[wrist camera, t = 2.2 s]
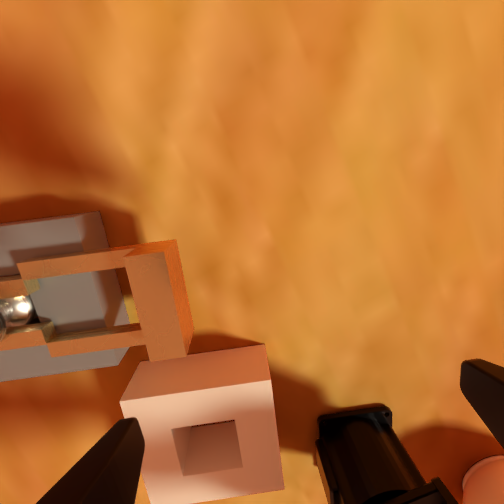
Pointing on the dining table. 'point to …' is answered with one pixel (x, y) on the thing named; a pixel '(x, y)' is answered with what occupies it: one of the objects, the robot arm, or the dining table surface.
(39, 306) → the socket block
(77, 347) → the brass guide bars
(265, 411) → the square hole block
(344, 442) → the robot arm
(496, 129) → the dining table surface
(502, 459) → the lidded jar
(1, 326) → the steel pin
